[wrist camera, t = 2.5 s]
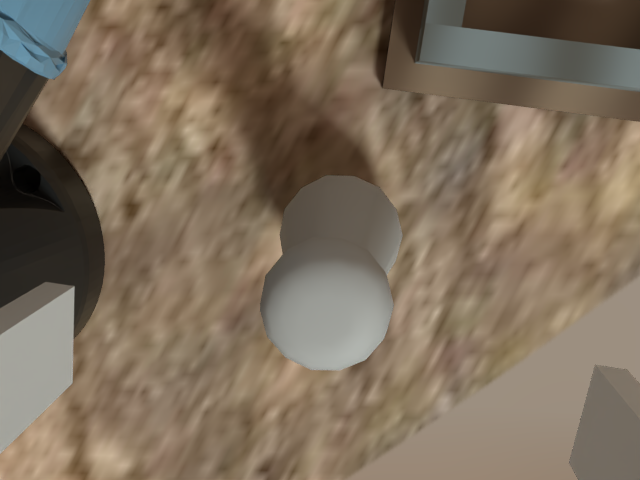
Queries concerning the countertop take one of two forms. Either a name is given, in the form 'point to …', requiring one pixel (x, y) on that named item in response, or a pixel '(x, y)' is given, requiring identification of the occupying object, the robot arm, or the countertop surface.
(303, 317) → the salt shaker
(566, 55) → the collar socket
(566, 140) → the countertop surface
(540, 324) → the countertop surface
